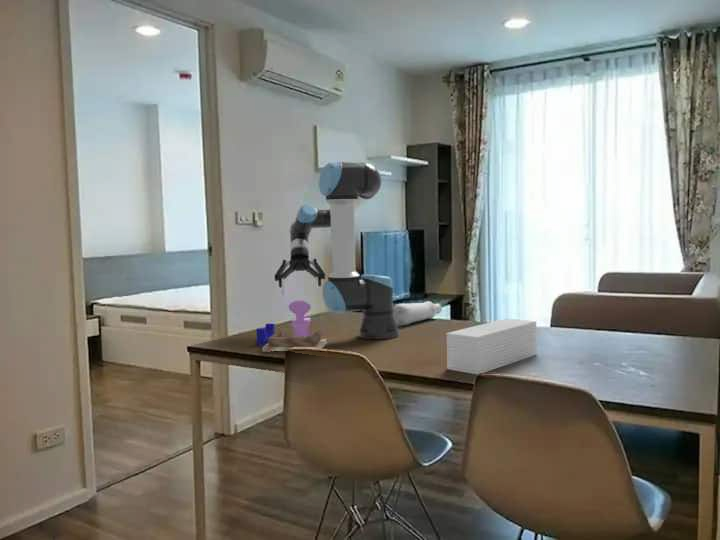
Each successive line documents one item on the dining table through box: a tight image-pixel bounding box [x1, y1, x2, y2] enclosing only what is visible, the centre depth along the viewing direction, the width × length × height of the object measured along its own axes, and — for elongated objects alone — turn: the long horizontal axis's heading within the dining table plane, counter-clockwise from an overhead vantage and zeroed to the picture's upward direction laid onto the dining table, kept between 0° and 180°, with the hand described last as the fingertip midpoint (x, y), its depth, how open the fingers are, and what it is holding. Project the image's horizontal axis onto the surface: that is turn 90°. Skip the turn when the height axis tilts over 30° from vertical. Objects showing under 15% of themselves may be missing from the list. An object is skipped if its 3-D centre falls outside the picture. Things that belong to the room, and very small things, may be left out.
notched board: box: [262, 330, 328, 353], centre depth 219 cm, size 20×14×4 cm
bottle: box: [393, 300, 443, 327], centre depth 266 cm, size 9×9×30 cm
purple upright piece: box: [288, 299, 312, 337], centre depth 236 cm, size 8×9×15 cm
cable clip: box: [256, 323, 276, 346], centre depth 232 cm, size 12×4×6 cm, turn 171°
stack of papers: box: [446, 318, 538, 375], centre depth 188 cm, size 32×11×11 cm, turn 135°
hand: (300, 292), depth 245 cm, fingers open, 13 cm apart
